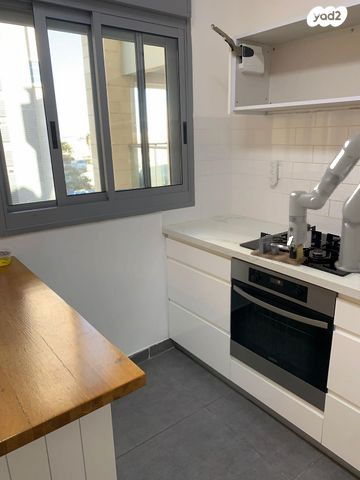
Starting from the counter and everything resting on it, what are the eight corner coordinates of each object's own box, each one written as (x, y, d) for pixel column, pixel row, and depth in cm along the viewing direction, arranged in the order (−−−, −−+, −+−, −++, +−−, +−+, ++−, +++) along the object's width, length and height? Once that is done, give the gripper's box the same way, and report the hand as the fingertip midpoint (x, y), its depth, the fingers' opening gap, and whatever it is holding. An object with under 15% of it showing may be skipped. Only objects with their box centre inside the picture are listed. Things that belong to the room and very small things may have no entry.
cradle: (278, 256, 173) (279, 247, 172) (275, 257, 171) (275, 249, 170) (275, 255, 174) (275, 246, 173) (271, 256, 172) (271, 248, 171)
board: (307, 260, 166) (307, 257, 165) (296, 266, 159) (296, 263, 159) (262, 249, 184) (262, 247, 183) (250, 254, 177) (250, 252, 177)
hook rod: (302, 258, 164) (303, 245, 163) (297, 260, 161) (297, 248, 160) (273, 251, 176) (273, 239, 174) (267, 253, 173) (267, 242, 171)
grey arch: (272, 252, 178) (272, 235, 176) (263, 256, 173) (263, 239, 171) (268, 251, 180) (268, 234, 177) (258, 255, 175) (259, 238, 172)
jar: (302, 251, 178) (303, 228, 174) (289, 247, 185) (290, 225, 181) (313, 247, 183) (314, 224, 179) (300, 243, 189) (301, 222, 186)
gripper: (295, 224, 151) (293, 264, 156) (314, 216, 162) (312, 253, 167) (279, 221, 156) (278, 260, 161) (299, 214, 167) (298, 250, 172)
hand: (296, 256), depth 164 cm, fingers closed on hook rod, 5 cm apart
